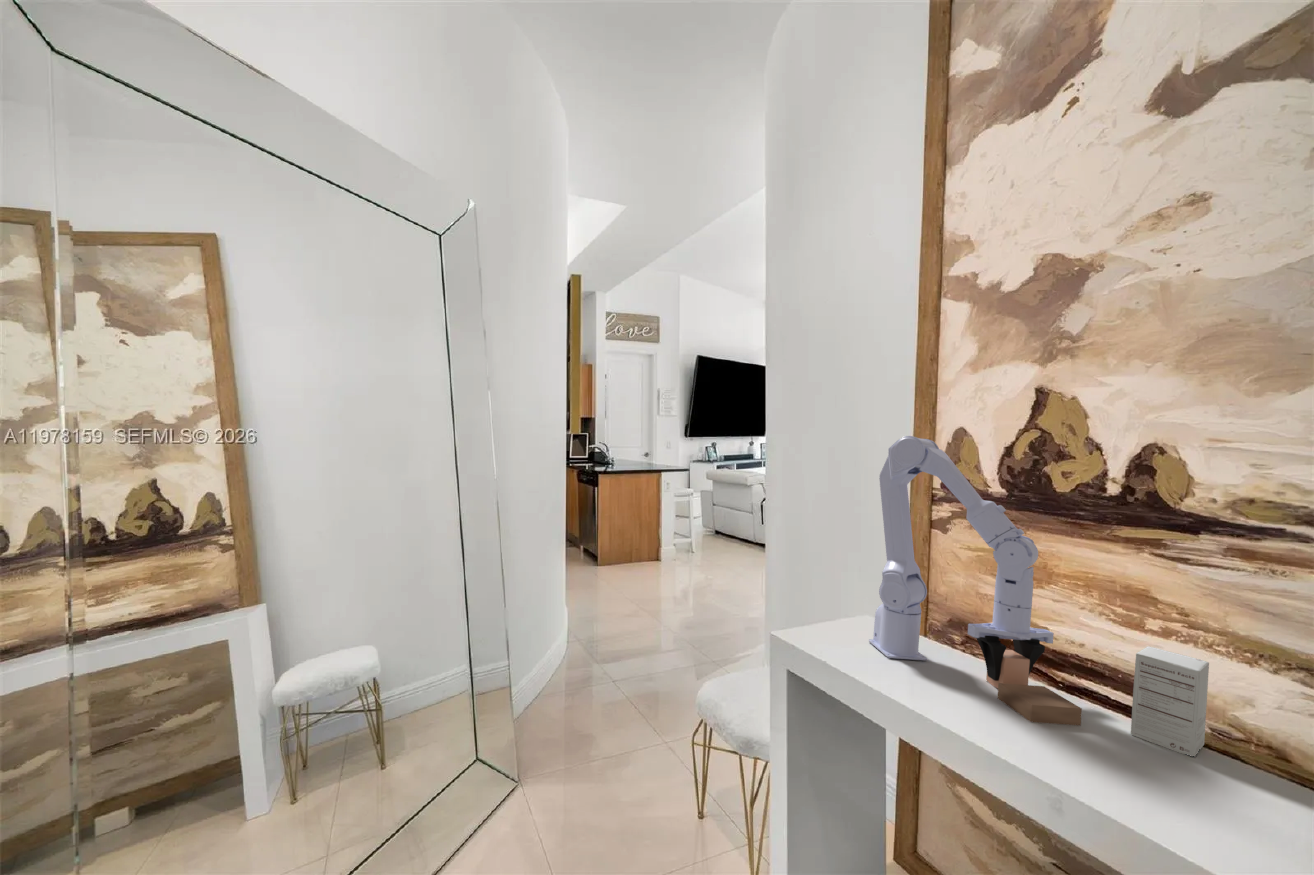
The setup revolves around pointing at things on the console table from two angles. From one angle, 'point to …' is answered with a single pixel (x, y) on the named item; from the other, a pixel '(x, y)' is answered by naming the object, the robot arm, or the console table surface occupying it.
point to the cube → (1012, 669)
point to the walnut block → (1039, 704)
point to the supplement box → (1170, 700)
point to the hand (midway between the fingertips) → (1006, 679)
